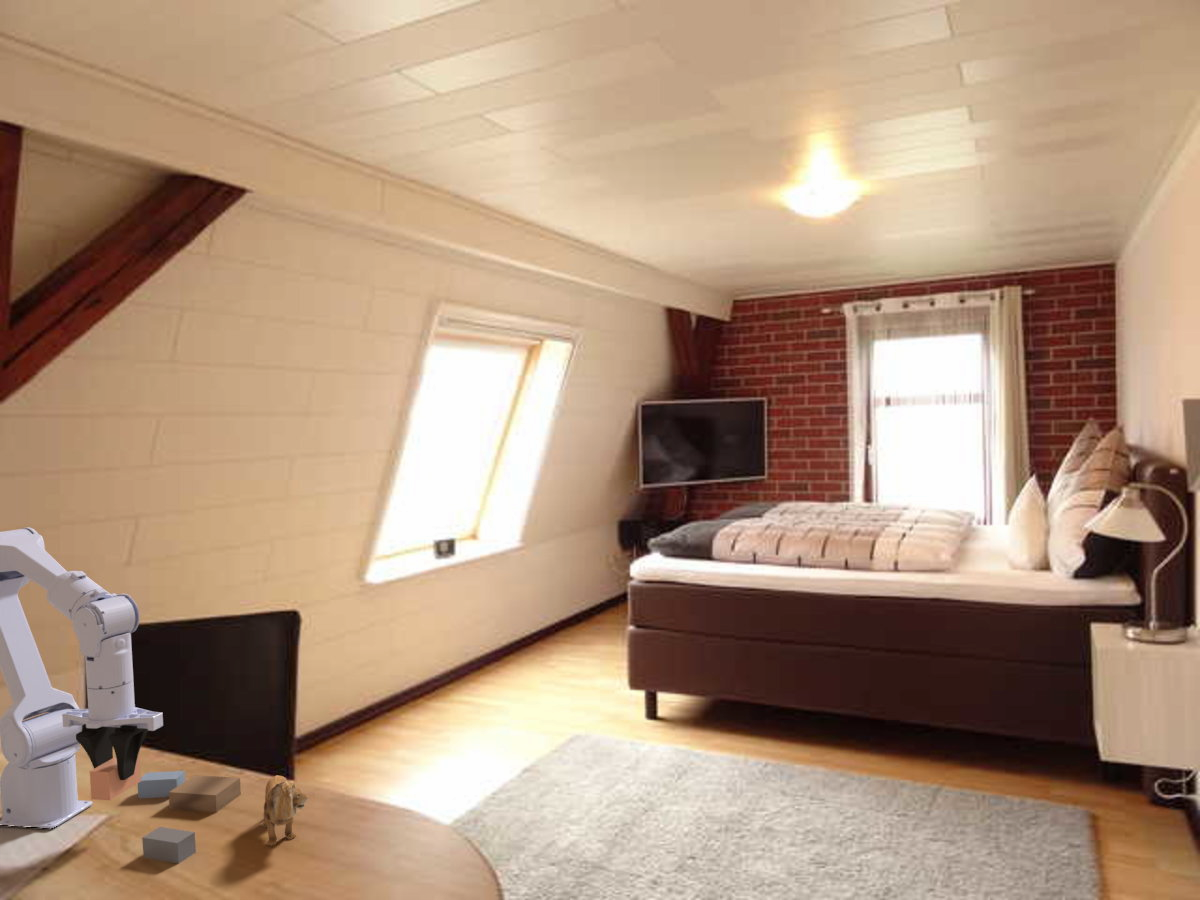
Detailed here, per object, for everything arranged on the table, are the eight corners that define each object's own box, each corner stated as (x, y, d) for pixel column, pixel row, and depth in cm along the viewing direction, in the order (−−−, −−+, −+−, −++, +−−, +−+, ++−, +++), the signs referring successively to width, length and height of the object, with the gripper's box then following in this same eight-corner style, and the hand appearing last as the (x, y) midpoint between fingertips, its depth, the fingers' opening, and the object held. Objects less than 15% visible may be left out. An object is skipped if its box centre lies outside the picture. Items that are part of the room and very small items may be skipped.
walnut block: (169, 811, 128) (168, 792, 128) (195, 793, 134) (194, 775, 134) (216, 814, 127) (215, 795, 127) (240, 796, 133) (240, 777, 133)
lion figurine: (312, 846, 116) (309, 782, 116) (272, 858, 113) (269, 792, 113) (286, 805, 129) (283, 747, 128) (249, 816, 126) (246, 756, 125)
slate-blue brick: (138, 799, 132) (137, 780, 132) (147, 790, 135) (146, 772, 135) (177, 797, 133) (176, 778, 133) (185, 788, 136) (184, 770, 136)
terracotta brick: (91, 799, 118) (89, 771, 118) (122, 780, 124) (121, 753, 123) (110, 800, 117) (108, 772, 117) (140, 781, 123) (139, 754, 123)
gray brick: (143, 858, 114) (142, 837, 114) (161, 847, 117) (160, 826, 117) (178, 865, 113) (177, 843, 112) (196, 853, 116) (194, 832, 115)
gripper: (42, 690, 117) (48, 786, 118) (136, 693, 114) (141, 791, 115) (82, 674, 124) (87, 765, 125) (170, 677, 121) (175, 769, 122)
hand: (115, 776), depth 120 cm, fingers closed on terracotta brick, 3 cm apart
